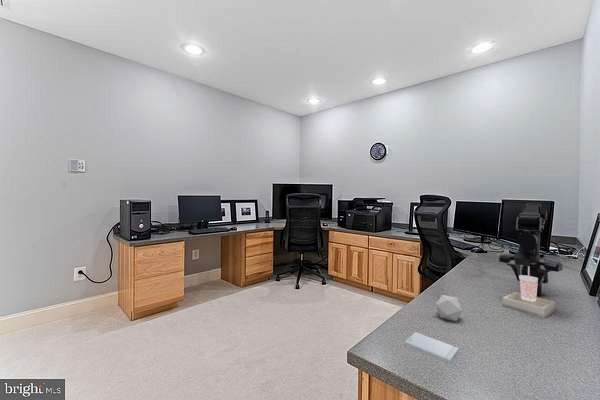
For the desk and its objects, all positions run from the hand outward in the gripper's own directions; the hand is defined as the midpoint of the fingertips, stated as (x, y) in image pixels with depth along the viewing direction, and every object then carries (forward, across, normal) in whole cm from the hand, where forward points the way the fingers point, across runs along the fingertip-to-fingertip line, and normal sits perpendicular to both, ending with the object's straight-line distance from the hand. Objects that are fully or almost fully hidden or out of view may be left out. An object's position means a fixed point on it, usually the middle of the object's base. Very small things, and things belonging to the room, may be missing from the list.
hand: (528, 283), depth 106 cm
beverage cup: (+7, 0, 0) cm, 7 cm away
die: (+10, -12, -37) cm, 40 cm away
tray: (+10, 0, 0) cm, 10 cm away
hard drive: (+10, -4, -61) cm, 62 cm away
